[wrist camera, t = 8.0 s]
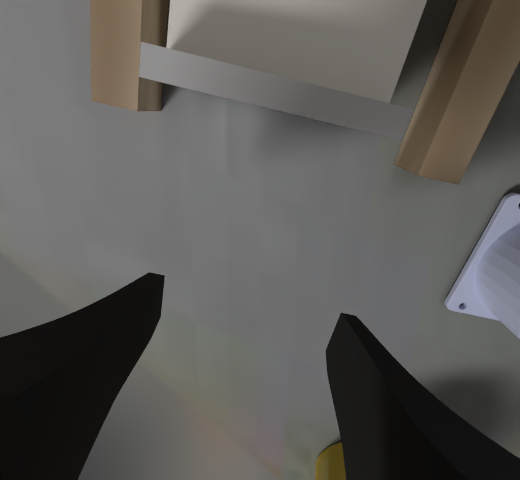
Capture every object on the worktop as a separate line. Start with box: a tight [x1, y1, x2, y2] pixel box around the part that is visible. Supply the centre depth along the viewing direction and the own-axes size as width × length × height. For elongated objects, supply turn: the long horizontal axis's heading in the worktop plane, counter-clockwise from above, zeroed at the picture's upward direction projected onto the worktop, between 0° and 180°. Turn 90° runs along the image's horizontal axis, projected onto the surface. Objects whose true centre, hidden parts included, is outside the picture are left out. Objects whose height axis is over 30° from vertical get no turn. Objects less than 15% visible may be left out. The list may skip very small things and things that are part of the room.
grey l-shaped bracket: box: [139, 0, 427, 140], centre depth 11 cm, size 9×7×6 cm
